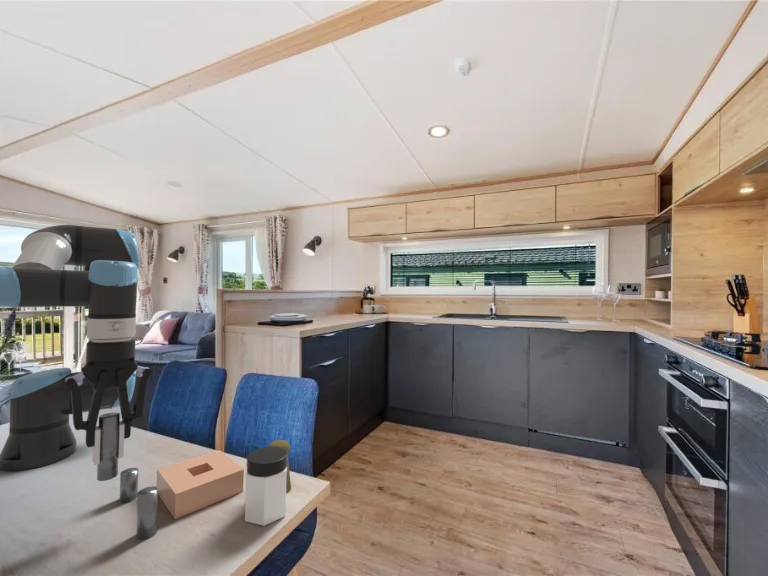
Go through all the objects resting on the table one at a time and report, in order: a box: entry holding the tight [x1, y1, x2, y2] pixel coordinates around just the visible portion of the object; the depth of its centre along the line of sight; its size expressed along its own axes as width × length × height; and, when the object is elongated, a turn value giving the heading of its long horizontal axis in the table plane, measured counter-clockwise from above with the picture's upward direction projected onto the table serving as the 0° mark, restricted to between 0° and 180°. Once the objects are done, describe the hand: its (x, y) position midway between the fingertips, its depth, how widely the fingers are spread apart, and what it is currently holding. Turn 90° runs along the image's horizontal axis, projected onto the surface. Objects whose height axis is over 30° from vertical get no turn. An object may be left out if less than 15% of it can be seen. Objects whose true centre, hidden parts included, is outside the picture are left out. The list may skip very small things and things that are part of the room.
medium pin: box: [135, 485, 159, 541], centre depth 65 cm, size 3×3×8 cm
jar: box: [244, 446, 289, 527], centre depth 72 cm, size 9×8×12 cm
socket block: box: [155, 449, 245, 520], centre depth 79 cm, size 14×14×5 cm
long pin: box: [96, 412, 121, 482], centre depth 67 cm, size 3×3×12 cm
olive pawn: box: [267, 439, 292, 494], centre depth 80 cm, size 6×6×11 cm
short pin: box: [119, 467, 139, 504], centre depth 76 cm, size 3×3×6 cm
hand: (108, 458), depth 67 cm, fingers closed on long pin, 3 cm apart
